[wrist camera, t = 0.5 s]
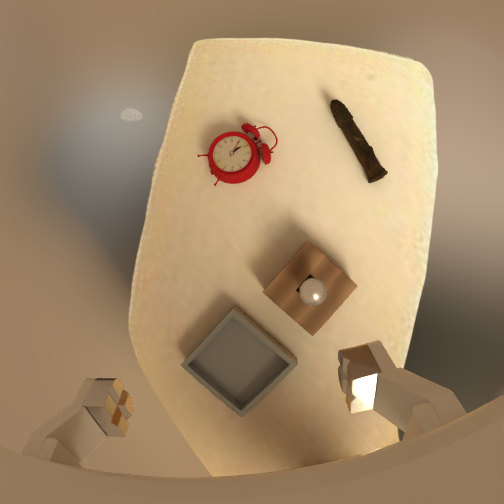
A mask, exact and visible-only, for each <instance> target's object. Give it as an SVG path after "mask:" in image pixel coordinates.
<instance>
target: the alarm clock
mask: <svg viewBox="0 0 504 504" xmlns="http://www.w3.org/2000/svg"><path fill="white" fill-rule="evenodd" d="M241 127H242V129H243V131H244V132H245V133H246V134H247V133H248V132H252V133H254V134H255V136H256V137H254V138H255V140H258V138H259V136H260V134H259V132H258V130H257V129H260V128H268V129H270V128H269V127H266V126H263V127H259V128H257V129H256V128H255V127H256V126H254V127H253V126H252V125H250V124H248V123H245V124H243V125H242V126H241ZM270 130H271V129H270ZM271 131H272V130H271ZM272 132H273V131H272ZM273 134H274V135H275V133H274V132H273ZM254 138H253V139H254ZM275 138H276V144H275V145H274V147H275V146H276V145H277V142H278V141H277V137H276V135H275ZM253 139H252V140H253ZM252 140H251V139H250V138H249V137H248V136H247V135H245V134H243V133H240V132H227V133H224V134H222V135H220V136H218V137H217V138H216V139H215V140H214V141H213V143H212V144H211V146H210V149H209V153H208V154H207V155H198V157H199V156H208V159H209V166H210V169H211V171H210V172H211V174H212V175H213V174H214V175H215V176H216V177H217V178H218V180H217V182H218V181H219V180H221V181H223V182H225V183H230V184H237V183H241V182H244V181H246V180H248V179H250V178H251V177H252V176H253V175H254V174H255V173H256V171H257V170H258V168H259V165H260V160H261V157H260V151H259V148H262V151H263V156H264V161H265V165H266V164H269V163H270V161H271V154H270V153H273V151H272V152H271V150H272V149H273V148H274V147H273V148H271V149H270V150H269V147H268V145H267V144H265V143H262V144H261V146H262V147H259V148H258V146H257V145H256V144H257V143H259V142H261V140H259V142H257V143H255V142H254V141H252ZM217 182H216V183H215V184H214V185H215V186H216V184H217Z"/></svg>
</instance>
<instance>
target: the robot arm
mask: <svg viewBox="0 0 504 504" xmlns="http://www.w3.org/2000/svg"><path fill="white" fill-rule="evenodd" d="M338 359H339V362H340V366H339V367H338V375H339V382H340V386H341V389H342V392H344V393H346V403H347V406H348V408H349V411H350V414H353V413H357V412H361V411H365V410H369V409H373V410H375V411H376V412H377V413H379V414H380V415H382V416H383V417H384V418H386V419H387V420H389V421H390V422H391V423H393V424H394V425H396V426H397V427H398V428H400V429H401V430H403V431H404V432H405V434H404V437H403V440H402V441H401V442H398V443H395V444H392V445H389V446H386V447H383V448H380V449H377V450H373V451H370V452H367V453H363V454H359V455H356V456H352V457H348V458H344V459H340V460H336V461H331V462H327V463H322V464H318V465H313V466H307V467H302V468H296V469H290V470H283V471H276V472H269V473H260V474H251V475H239V476H224V477H192V478H191V477H190V478H189V477H185V478H184V477H155V476H154V477H153V476H140V475H130V474H120V473H111V472H104V471H98V470H91V469H85V468H84V467H82V464H83V463H84V462H85V461H86V460H87V459H88V458H89V457H90V456H91V455H92V453H93V452H94V451H95V450H96V449H97V448H98V447H99V446H100V445H101V444H102V443H103V441H104V440H105V439H106V438H107V436H117V437H125V436H126V433H127V429H128V426H129V423H128V421H127V419H128V418H130V417H131V416H132V412H133V401H132V398H131V396H130V395H129V393H127V392H126V391H124V390H123V388H124V384H123V383H122V381H121V380H120V379H117V378H113V379H112V378H97V379H94V378H93V379H92V378H87V379H86V380H84V382H83V384H82V386H81V388H80V389H79V391H78V393H77V396H76V397H75V400H74V402H73V404H72V406H67V407H66V408H65V409H63V410H62V411H61V412H59V413H58V414H57V415H55V416H54V417H53V418H51V419H50V420H49V421H47V422H46V423H44V424H43V425H42V426H40V427H39V428H38V429H36V430H35V431H34V432H32V433H31V435H30V437H29V439H28V441H27V443H26V445H25V447H24V449H23V452H22V453H19V452H16V451H12V450H9V449H6V448H4V447H1V446H0V504H504V394H503V395H502V396H500V397H498V398H496V399H494V400H493V401H491V402H489V403H487V404H485V405H484V406H482V407H480V408H478V409H476V410H474V411H472V412H470V413H468V414H467V413H466V412H465V410H464V409H463V407H462V406H461V404H460V403H459V401H458V399H457V398H456V396H455V395H454V393H453V392H452V391H451V390H449V389H447V388H444V387H442V386H440V385H437V384H435V383H433V382H431V381H429V380H427V379H424V378H422V377H420V376H418V375H416V374H414V373H411V372H409V371H407V370H405V369H403V368H401V367H400V368H396V366H395V365H394V363H393V361H392V360H391V358H390V356H389V355H388V353H387V351H386V350H385V348H384V346H383V345H382V343H381V341H379V340H377V341H373V342H370V343H366V344H363V345H359V346H355V347H351V348H347V349H343V350H339V352H338Z"/></svg>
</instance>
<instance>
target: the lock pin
mask: <svg viewBox="0 0 504 504" xmlns="http://www.w3.org/2000/svg"><path fill="white" fill-rule="evenodd" d="M299 293H300V297H301V299H302V301H303V302H304V303H305V304H307V305H310V306H316V305H319V304H321V303H322V302H323V301H324V300H325V298H326V295H327V288H326V286H325V284H324V283H323V282H322V281H321V280H319V279H317V278H310V279H307V280H305V281H304V282H303V283H302V284H301V286H300V290H299Z"/></svg>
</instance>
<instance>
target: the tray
mask: <svg viewBox="0 0 504 504" xmlns="http://www.w3.org/2000/svg"><path fill="white" fill-rule="evenodd" d="M297 364H298V363H297V358H296V357H295V356H293V355H292V354H291V353H290V352H289V351H288V350H286V349H285V348H284V347H283V346H282V345H281V344H279V343H278V342H277V341H276V340H275V339H274V338H272V337H271V336H270V335H269V334H268V333H267V332H266V331H264V330H263V329H262V328H261V327H260V326H259V325H258V324H256V323H255V322H254V321H253V320H252V319H251V318H250V317H249V316H247V315H246V314H245V313H244V312H243V311H242V310H241V309H240V308H239V307H237V306H235V307H234V308H233V309H232V310H231V311H230V312H229V313H228V314H227V315H226V317H225V318H224V319H223V320H222V321H221V322H220V323H219V324H218V325H217V326H216V328H215V329H214V330H213V331H212V332H211V333H210V334H209V335H208V336H207V337H206V338H205V340H204V341H203V342H202V343H201V344H200V345H199V346H198V347H197V348H196V349H195V350H194V351H193V353H192V354H191V355H190V356H189V357H188V358H187V359H186V360H185V361H184V362H183V363H182V364H181V366H182V367H183V368H184V369H185V370H187V371H188V372H189V373H190V374H191V375H192V376H193V377H194V378H195V379H197V380H198V381H199V382H200V383H201V384H202V385H203V386H205V387H206V388H207V389H208V390H209V391H210V392H212V393H213V394H214V395H215V396H216V397H218V398H219V399H220V400H221V401H222V402H224V403H225V404H226V405H227V406H229V407H230V408H231V409H232V410H234V411H235V412H236V413H237V414H239V415H240V416H241V417H242V416H243V415H244V414H245V413H246V412H247V411H249V410H250V409H251V408H252V407H253V406H254V405H255V404H256V403H257V402H259V401H260V400H261V399H262V398H263V397H264V396H265V395H266V394H267V393H268V392H269V391H270V390H271V389H273V388H274V387H275V386H276V385H277V384H278V383H279V382H280V381H281V380H282V379H283V378H284V377H285V376H286V375H287V374H288V373H289V372H290V371H291V370H292V369H293V368H294V367H295V366H296V365H297Z"/></svg>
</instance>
